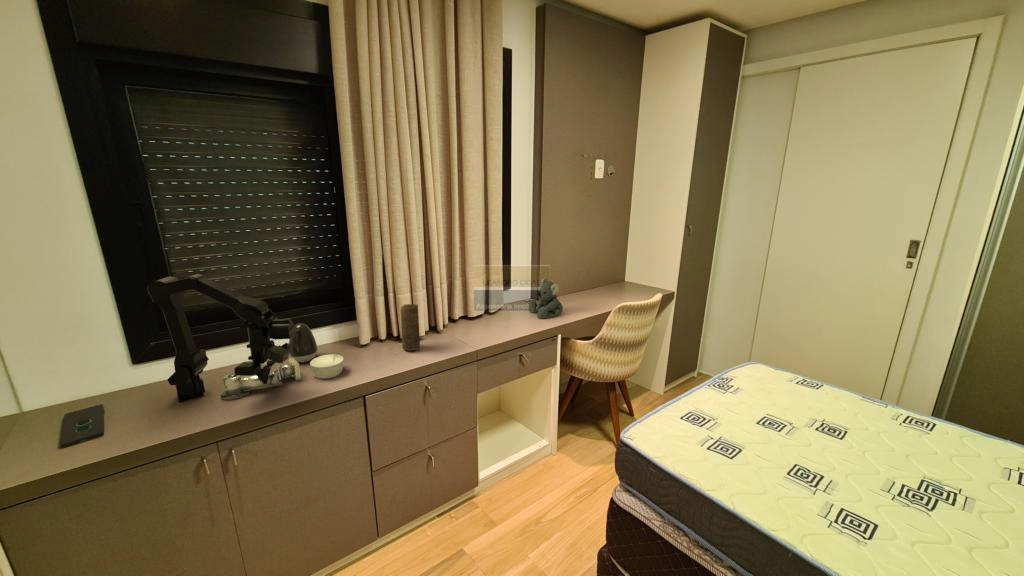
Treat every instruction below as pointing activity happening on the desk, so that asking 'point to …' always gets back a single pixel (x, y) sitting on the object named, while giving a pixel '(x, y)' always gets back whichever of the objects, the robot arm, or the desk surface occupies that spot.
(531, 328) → the desk surface
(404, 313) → the candle
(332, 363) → the ramekin
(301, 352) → the black egg-shaped dome
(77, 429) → the smart home device
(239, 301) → the robot arm
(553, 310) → the koala plush
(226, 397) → the metal pipe fitting
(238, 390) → the elbow
